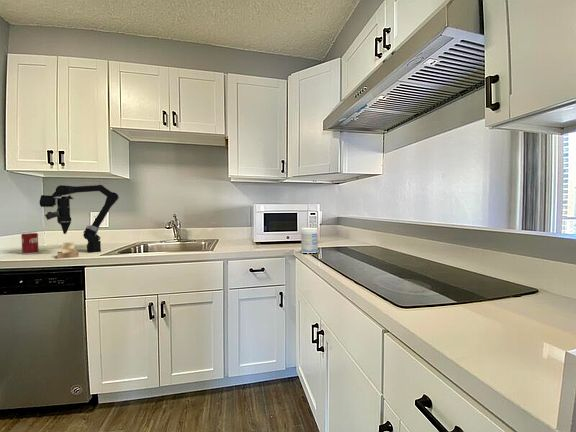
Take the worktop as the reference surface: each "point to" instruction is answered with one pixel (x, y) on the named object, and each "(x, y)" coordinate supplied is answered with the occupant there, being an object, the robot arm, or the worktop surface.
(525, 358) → the worktop surface
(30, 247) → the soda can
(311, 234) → the supplement tub
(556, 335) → the worktop surface
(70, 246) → the oak cube
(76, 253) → the walnut block
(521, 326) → the worktop surface
